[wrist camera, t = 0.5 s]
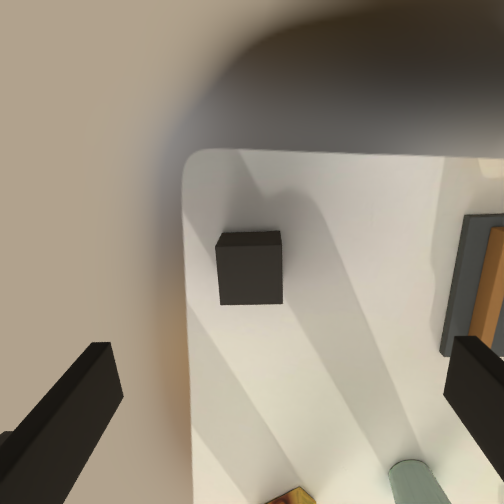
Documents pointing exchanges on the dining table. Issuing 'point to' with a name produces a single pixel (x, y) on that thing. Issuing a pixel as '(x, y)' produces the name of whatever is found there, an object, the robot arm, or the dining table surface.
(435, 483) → the cup
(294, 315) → the dining table surface
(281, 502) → the candy box
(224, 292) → the black pad
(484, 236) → the base pad
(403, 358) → the dining table surface
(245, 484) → the dining table surface
